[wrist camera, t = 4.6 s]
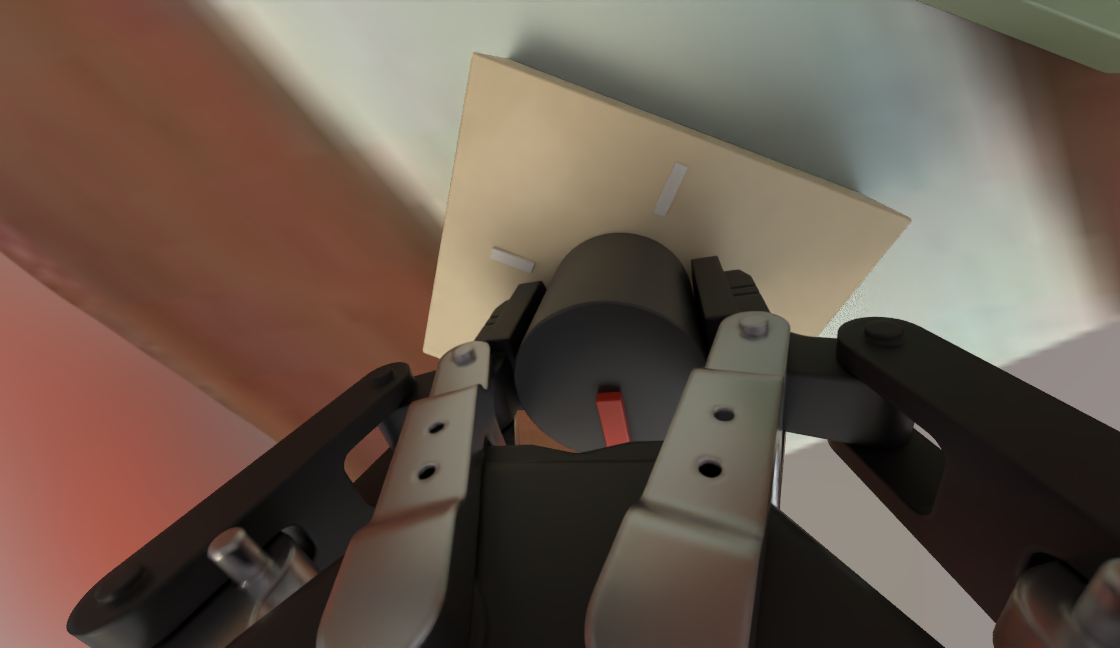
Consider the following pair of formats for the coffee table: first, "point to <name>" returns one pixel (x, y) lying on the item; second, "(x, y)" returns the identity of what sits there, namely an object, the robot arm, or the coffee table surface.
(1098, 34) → the switch box
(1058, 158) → the coffee table surface
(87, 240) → the coffee table surface
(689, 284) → the hob knob
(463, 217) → the panel
